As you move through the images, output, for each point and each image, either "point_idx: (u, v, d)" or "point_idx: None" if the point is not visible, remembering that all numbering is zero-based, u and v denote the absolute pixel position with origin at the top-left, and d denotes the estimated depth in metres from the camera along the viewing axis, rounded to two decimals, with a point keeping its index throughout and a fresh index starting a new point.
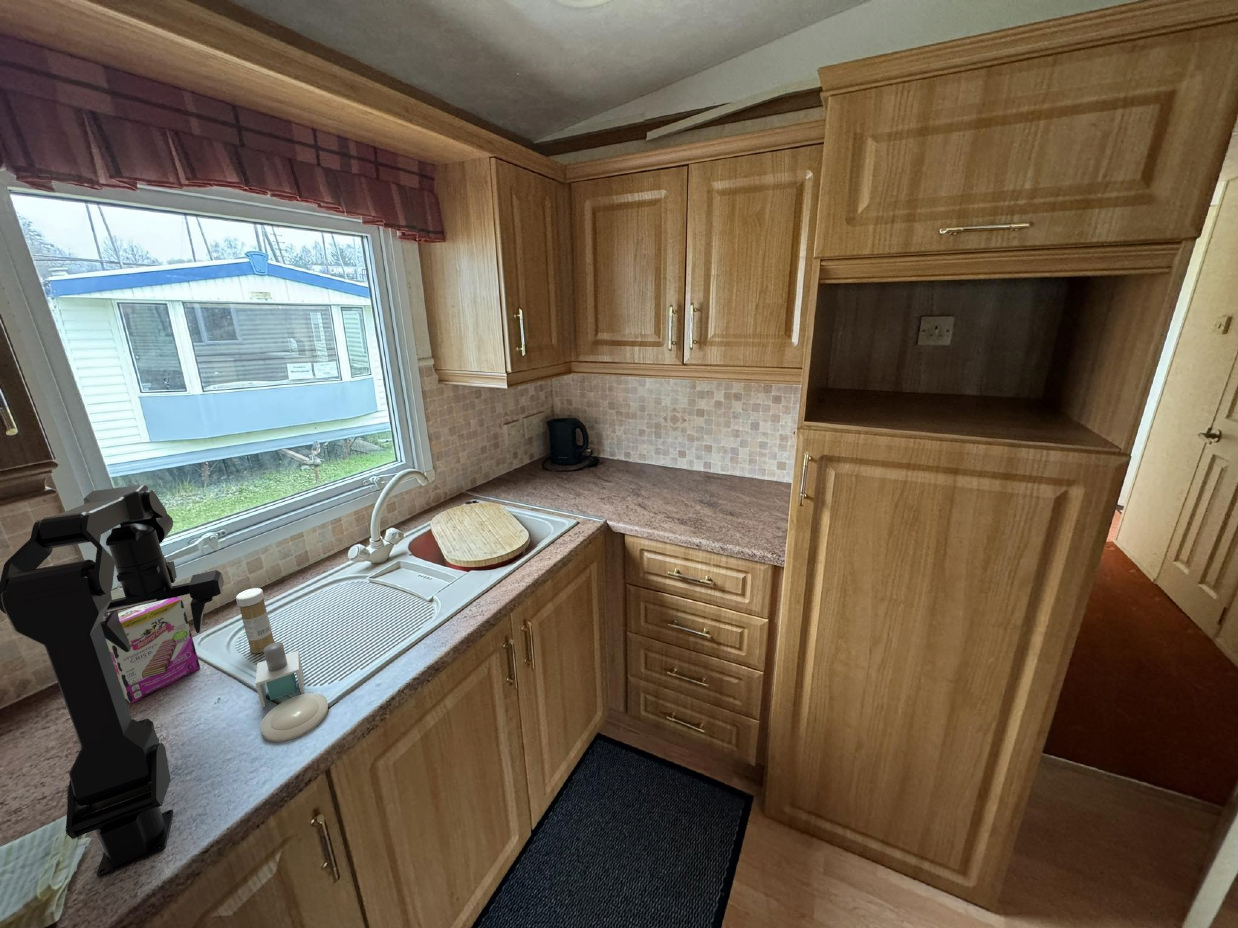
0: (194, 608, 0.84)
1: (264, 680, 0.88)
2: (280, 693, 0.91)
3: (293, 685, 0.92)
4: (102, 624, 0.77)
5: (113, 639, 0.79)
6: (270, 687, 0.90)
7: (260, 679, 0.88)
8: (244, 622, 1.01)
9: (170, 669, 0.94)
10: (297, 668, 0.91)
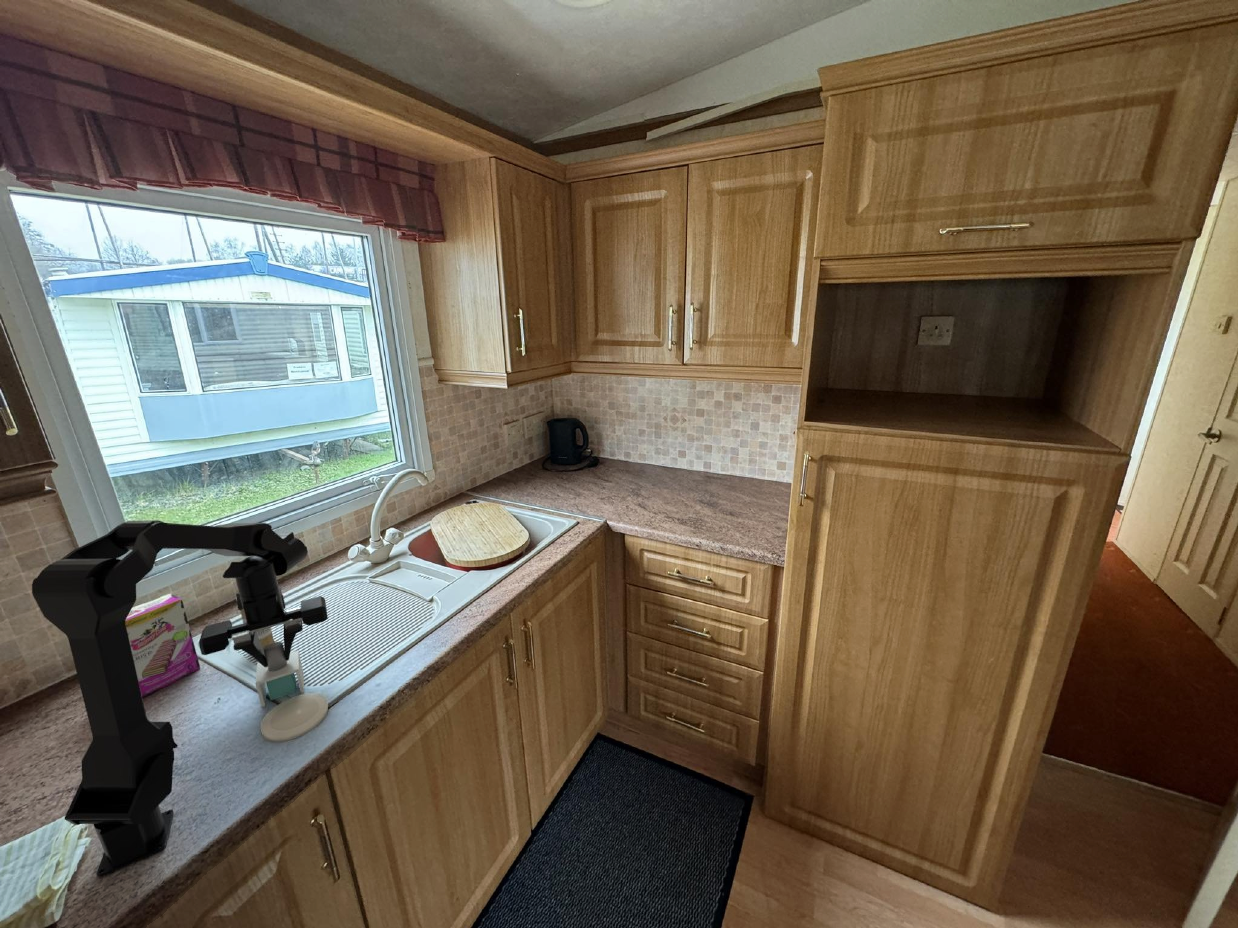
0: (286, 638, 0.89)
1: (264, 680, 0.88)
2: (280, 693, 0.91)
3: (293, 685, 0.92)
4: (249, 643, 0.86)
5: (256, 656, 0.88)
6: (270, 687, 0.90)
7: (260, 679, 0.88)
8: (244, 622, 1.01)
9: (170, 669, 0.94)
10: (297, 668, 0.91)
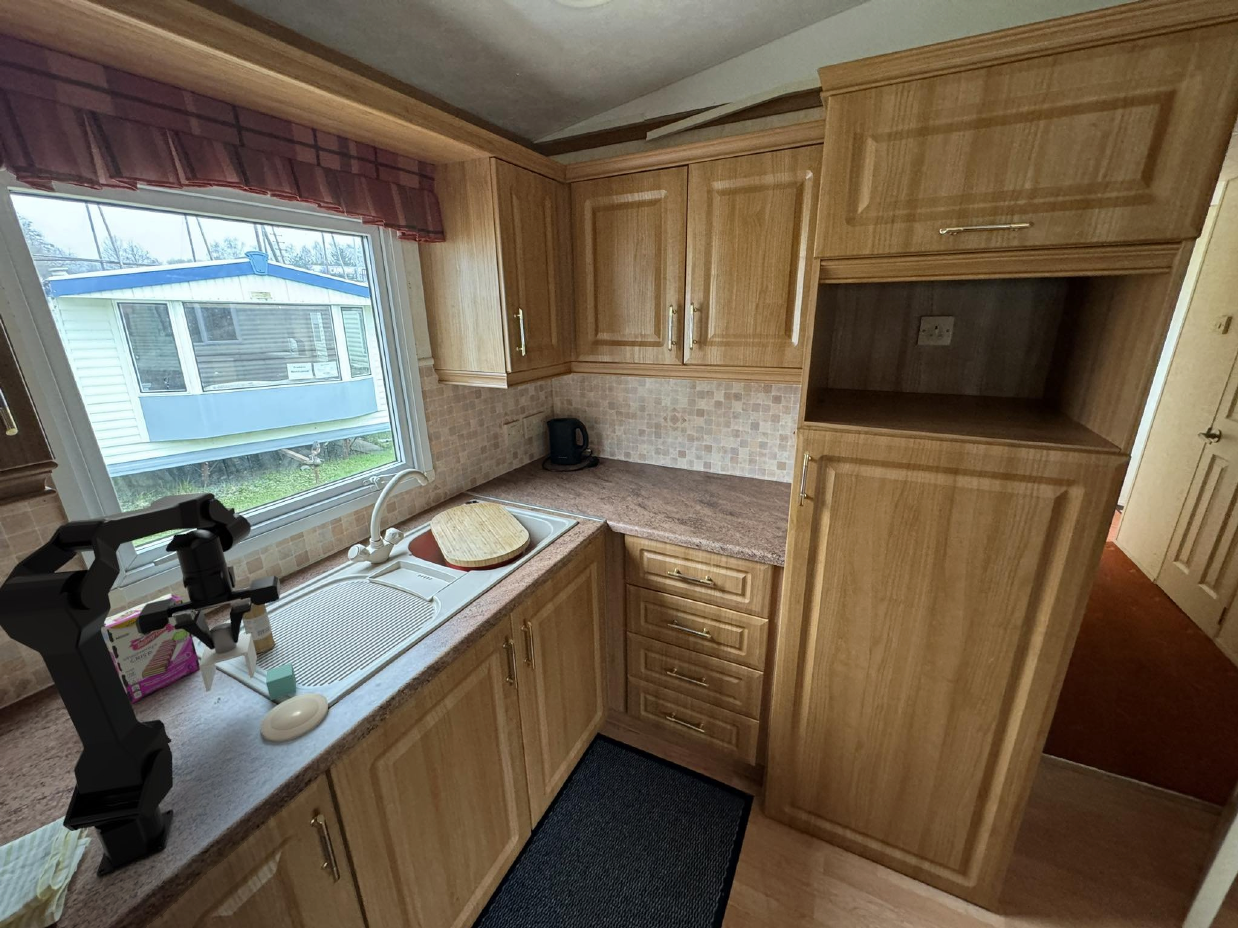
0: (233, 618, 0.83)
1: (209, 662, 0.82)
2: (280, 693, 0.91)
3: (293, 685, 0.92)
4: (192, 622, 0.80)
5: (200, 637, 0.82)
6: (270, 687, 0.90)
7: (205, 661, 0.83)
8: (244, 622, 1.01)
9: (170, 669, 0.94)
10: (246, 651, 0.85)
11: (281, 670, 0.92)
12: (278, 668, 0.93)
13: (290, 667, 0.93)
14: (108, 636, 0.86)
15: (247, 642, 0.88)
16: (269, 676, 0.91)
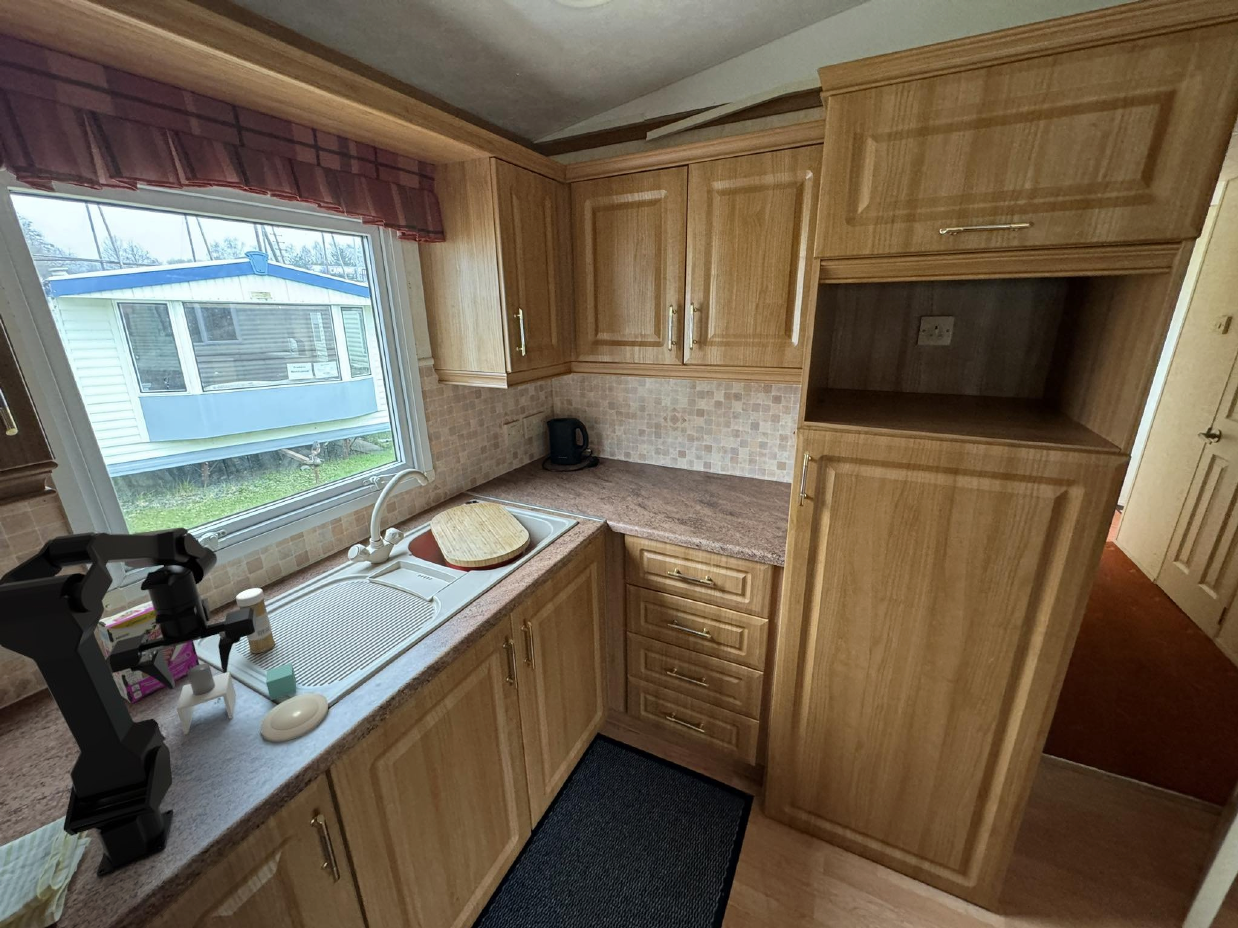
0: (222, 649, 0.84)
1: (186, 705, 0.82)
2: (280, 693, 0.91)
3: (293, 685, 0.92)
4: (149, 663, 0.79)
5: (159, 677, 0.80)
6: (270, 687, 0.90)
7: (182, 704, 0.82)
8: None
9: (170, 669, 0.94)
10: (224, 691, 0.85)
11: (281, 670, 0.92)
12: (278, 668, 0.93)
13: (290, 667, 0.93)
14: (108, 636, 0.86)
15: (226, 682, 0.87)
16: (269, 676, 0.91)
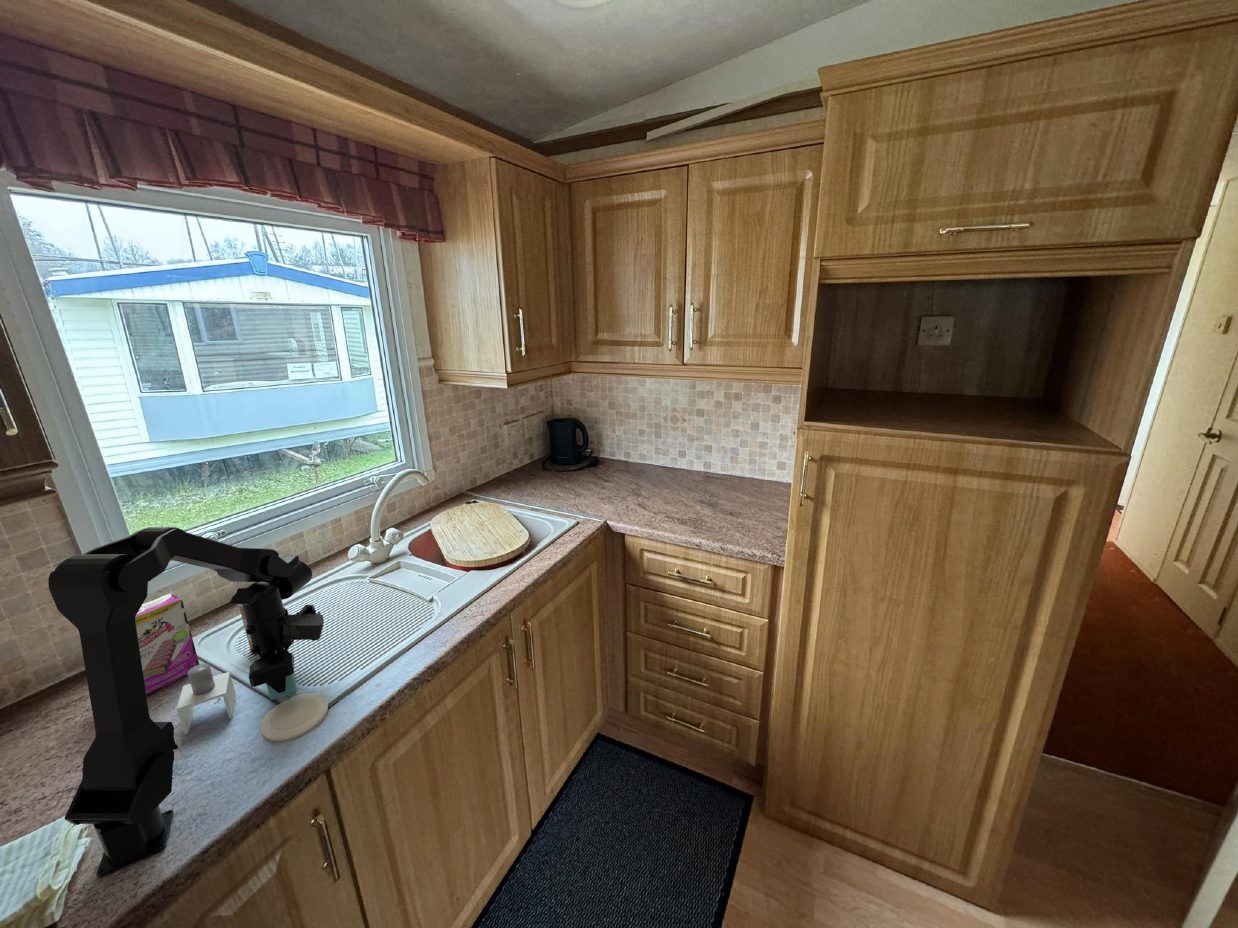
0: None
1: (186, 705, 0.82)
2: (280, 693, 0.91)
3: (293, 685, 0.92)
4: None
5: None
6: None
7: (182, 704, 0.82)
8: (244, 622, 1.01)
9: (170, 669, 0.94)
10: (224, 691, 0.85)
11: None
12: None
13: None
14: None
15: (226, 682, 0.87)
16: None
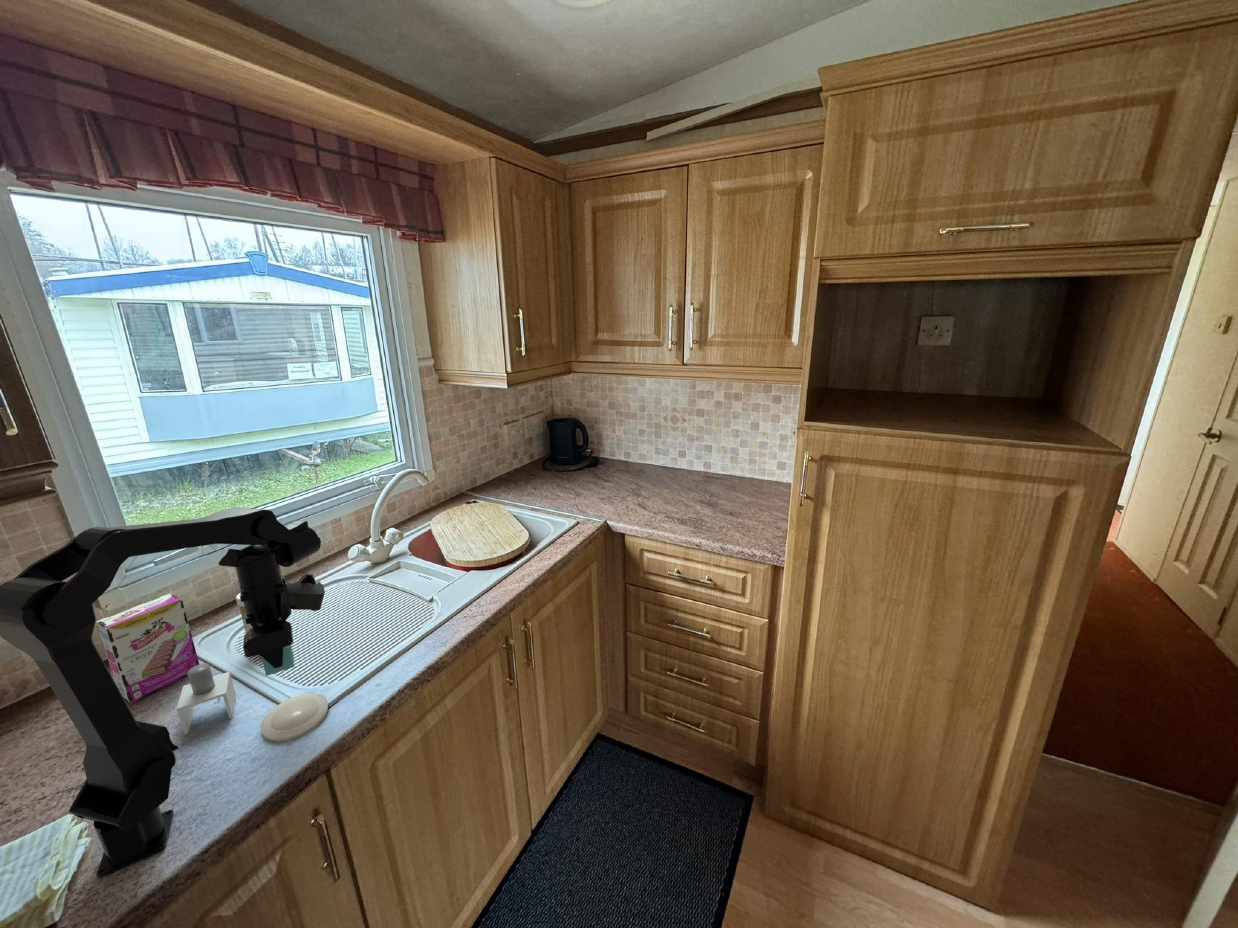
0: None
1: (186, 705, 0.82)
2: (276, 668, 0.83)
3: (291, 659, 0.84)
4: None
5: None
6: None
7: (182, 704, 0.82)
8: (244, 622, 1.01)
9: (170, 669, 0.94)
10: (224, 691, 0.85)
11: None
12: None
13: None
14: (108, 636, 0.86)
15: (226, 682, 0.87)
16: None
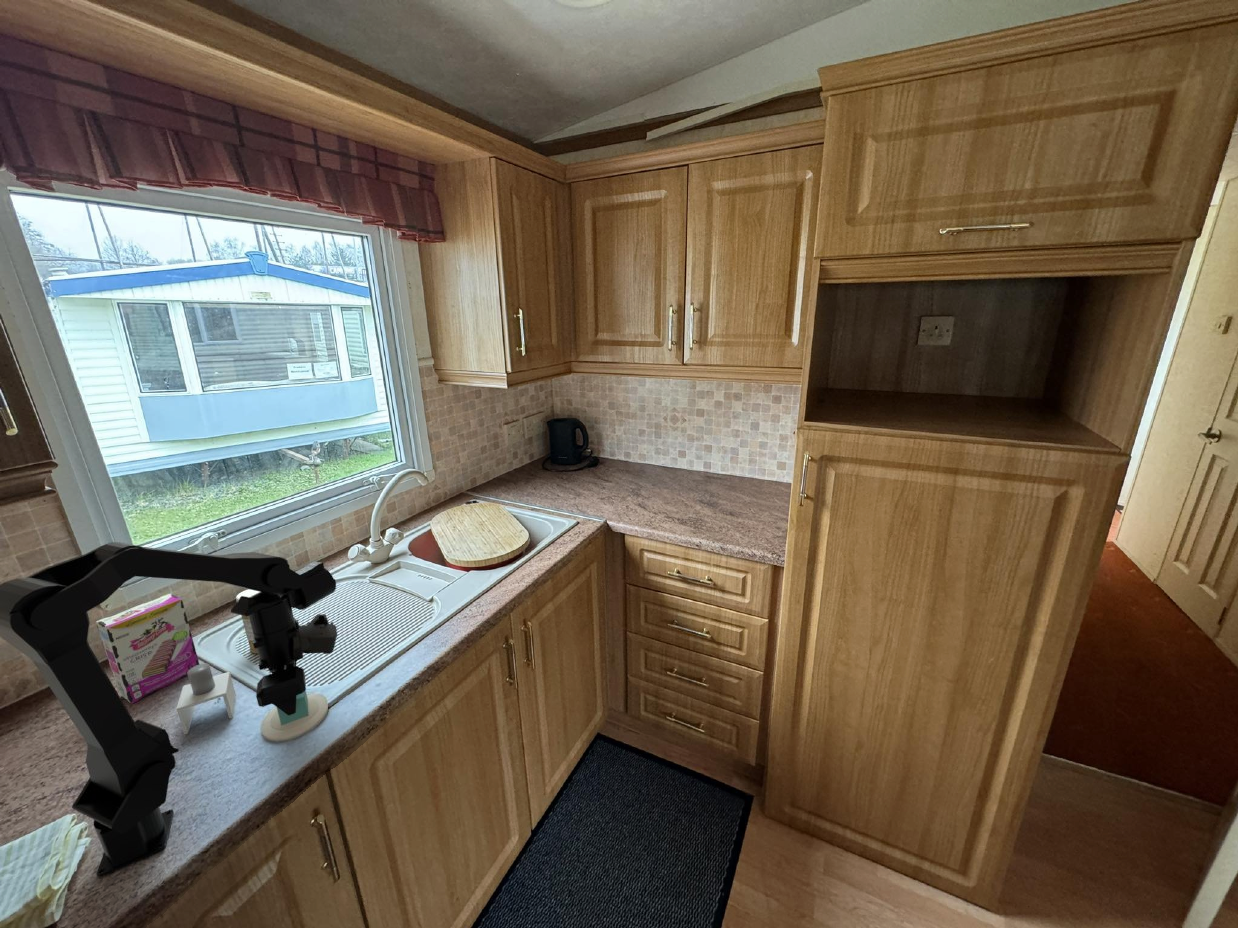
0: None
1: (186, 705, 0.82)
2: (291, 717, 0.83)
3: (305, 708, 0.84)
4: None
5: None
6: None
7: (182, 704, 0.82)
8: (244, 622, 1.01)
9: (170, 669, 0.94)
10: (224, 691, 0.85)
11: None
12: None
13: None
14: (108, 636, 0.86)
15: (226, 682, 0.87)
16: None
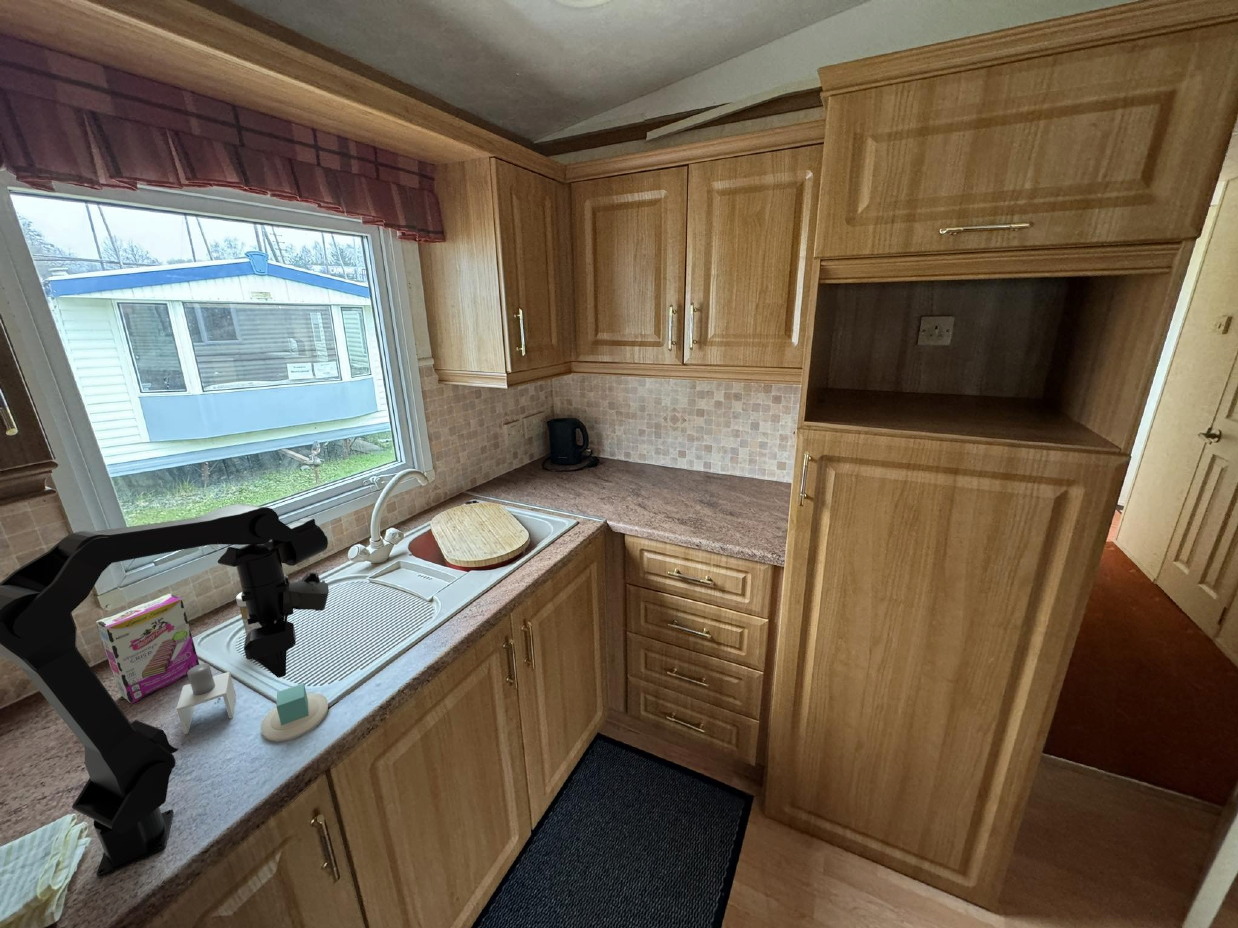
0: None
1: (186, 705, 0.82)
2: (291, 717, 0.83)
3: (305, 708, 0.84)
4: None
5: None
6: (281, 710, 0.82)
7: (182, 704, 0.82)
8: (244, 622, 1.01)
9: (170, 669, 0.94)
10: (224, 691, 0.85)
11: (292, 692, 0.85)
12: (289, 689, 0.85)
13: (302, 688, 0.86)
14: (108, 636, 0.86)
15: (226, 682, 0.87)
16: (280, 699, 0.83)
